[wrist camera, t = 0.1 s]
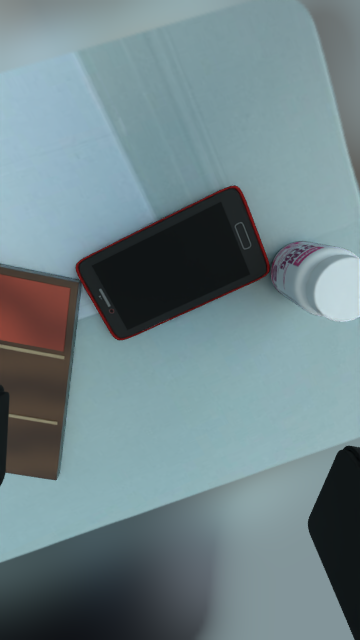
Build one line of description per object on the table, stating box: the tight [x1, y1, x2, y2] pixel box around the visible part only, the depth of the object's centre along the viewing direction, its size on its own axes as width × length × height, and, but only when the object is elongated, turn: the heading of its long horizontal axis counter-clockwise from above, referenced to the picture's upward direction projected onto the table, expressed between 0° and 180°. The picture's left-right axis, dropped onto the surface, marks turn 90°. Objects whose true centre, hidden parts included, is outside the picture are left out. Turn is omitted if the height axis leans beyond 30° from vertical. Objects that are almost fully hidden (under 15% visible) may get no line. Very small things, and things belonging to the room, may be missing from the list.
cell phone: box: [76, 185, 270, 340], centre depth 26 cm, size 8×15×1 cm, turn 115°
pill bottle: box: [271, 241, 360, 322], centre depth 23 cm, size 5×5×8 cm
